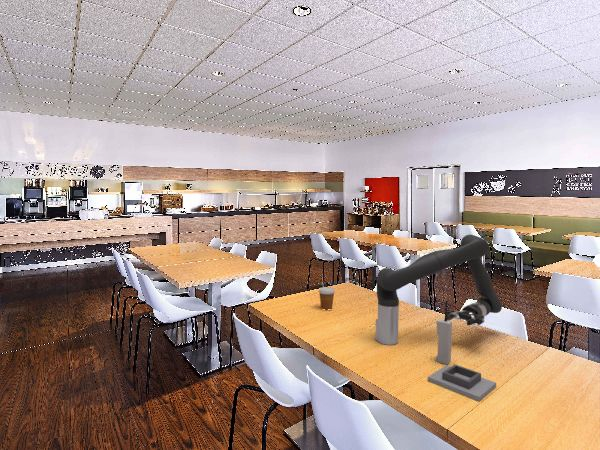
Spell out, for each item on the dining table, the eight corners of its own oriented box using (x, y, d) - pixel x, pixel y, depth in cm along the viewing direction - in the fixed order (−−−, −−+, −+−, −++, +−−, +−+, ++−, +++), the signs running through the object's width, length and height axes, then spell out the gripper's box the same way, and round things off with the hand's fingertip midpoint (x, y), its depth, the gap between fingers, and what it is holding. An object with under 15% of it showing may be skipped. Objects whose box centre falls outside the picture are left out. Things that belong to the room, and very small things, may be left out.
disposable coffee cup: (317, 311, 214) (317, 290, 213) (319, 306, 223) (319, 286, 222) (334, 312, 212) (334, 291, 211) (335, 307, 221) (335, 287, 220)
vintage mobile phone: (438, 358, 152) (440, 298, 150) (450, 361, 149) (453, 300, 147) (434, 361, 149) (436, 300, 147) (447, 364, 146) (449, 302, 144)
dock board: (427, 380, 133) (427, 370, 133) (446, 368, 143) (446, 358, 142) (479, 401, 120) (479, 389, 120) (496, 386, 129) (496, 375, 129)
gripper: (458, 300, 171) (441, 308, 160) (491, 307, 161) (475, 315, 150) (458, 316, 172) (441, 325, 161) (490, 324, 161) (474, 334, 151)
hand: (457, 320), depth 155 cm, fingers open, 8 cm apart
